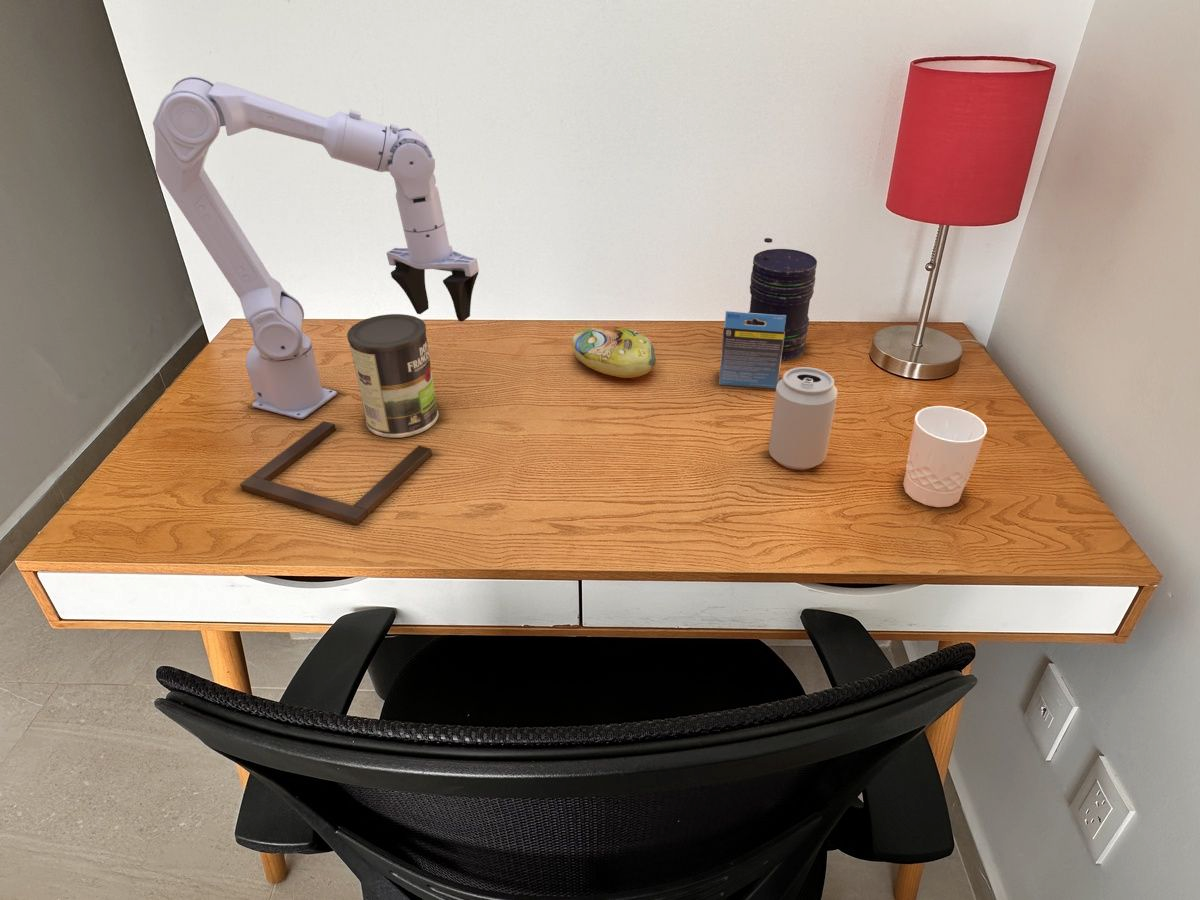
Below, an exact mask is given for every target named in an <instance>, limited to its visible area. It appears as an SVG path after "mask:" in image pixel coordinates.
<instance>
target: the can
mask: <svg viewBox="0 0 1200 900" xmlns="http://www.w3.org/2000/svg"><path fill="white" fill-rule="evenodd" d="M774 394H775V395H774V401H773V410H772V417H771V424H770V433H769V441H768V453H769V455H770V456H771V458H773V459H774V460H775V461H776V462H777V463H778V464H779V465H781V466H783V467H785V468H787V469H791V470H798V471H801V470H802V471H803V470H809V469H812V468H815V467H816V466H820V465H821V464H823V462H825V460H826V458H827V455H828V449H829V444H830V439H831V433H832V428H833V421H834V417H835V411H836V405H837V401H838V389H837V388H836V386H835V379H834V377H833V376H832V375H831V374H829V373H828V372H826V371H824V370H822V369H820V368H815V367H809V366H800V367H794V368H790V369H788V370H787V371H785V372H784V373H783V375H782V379H780V380H778V384H777V386H776V389H775V393H774Z"/></svg>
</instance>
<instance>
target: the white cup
mask: <svg viewBox="0 0 1200 900" xmlns="http://www.w3.org/2000/svg"><path fill="white" fill-rule="evenodd" d="M987 433H988V429H987V425H986V423H985V422H984V421H983V420H982V419H981V418H980V417H978V416H977V415H976V414H974V413H972V412H970V411H967V410H965V409H962V408H958V407H955V406H954V407H953V406H948V405H947V406H946V405H935V406H927V407H924V408H922V409H919V410H918V411H917V412H916V413H915V415H914V420H913V425H912V431H911V436H910V441H909V447H908V452H907V459H906V467H905V468H906V469H905V474H904V479H903V483H902V484H903V488H904V492H905V493H906V495H908V496H909V497H910V499H912V500H913V501H915V502H918V503H919V504H920V503H921V504H922V505H924V506H928V507H934V508H947V507H948V508H949V507H951V506H954V505H955V504H957V503H959V502H960V499H961V497H962V494H963V492H964V489H965V488H966V485H967V483H968V482H969V479H970V476H971V475H972V472H973V469H974V467H975V466H976V462H977V460H978V457H979V454H980V452H981V448H982V446H983V443H984V441H985V437H986V435H987Z"/></svg>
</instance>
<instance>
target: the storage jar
mask: <svg viewBox="0 0 1200 900" xmlns="http://www.w3.org/2000/svg"><path fill="white" fill-rule="evenodd" d="M763 242H764V243H767V244H770V243H772V242H773V239H772V238H770V237H766V238H764V239H763ZM817 265H818V260H817V259H816V257H815V256H813V255H812V254H810V253H807V252H806V251H801V250H798V249H797V250H796V249H790V248H771V249H765V250H761V251H759V252H757V253H755V255H754V256H753V260H752V269H751V273H750V285H749V294H750V305H749V311H747V313H758V314H770V315H786V322H785V329H784V331H785V336H784V343H783V350H782V357H781V362H784V361H789V360H794V359H797V358H799V357H800V356H802V355H803V354H804V352H805V343H806V341H807V340H806V339H807V337H808V332H809V326H810V318H809V310H810V302H811V299H812V298H813V294H814V292H815V291H814V287H815V284H816V272H817V271H816V269H817ZM745 324H747V325H760V326H764V325H765V323H764V322H760V321H757V320H756V319H753V320H752V321H748V320H746V323H745Z"/></svg>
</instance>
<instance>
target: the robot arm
mask: <svg viewBox="0 0 1200 900" xmlns="http://www.w3.org/2000/svg"><path fill="white" fill-rule="evenodd" d="M361 116H362V115H361V112H360V111H358V110H355V109H349V112H348V113H346V112H345V111H338V112H336V113H333V114H332V115H330V116H328V117H325V116H323V115H319V114H316V113H313V112H311V111H308V110H304V109H303V108H299V107H296V106H294V105H291V104H288V103H285V102H283V101H280V100H276V99H273V98H271V97H268V96H265V95H263V94H260V93H256V92H255V91H252V90H248V89H245V88H242V87H239V86H236V85H233V84H230V83H226V82H219V81H215V82H214V83H213V82H212V81H210V80H209V79H206V78H203V77H201V76H185V77H183V78H182V79H179V80H178V81H177V82H176V83H175V84H174V85H173V87H172V89H171V90H170V92H169V93H167V94H166V95H165V96H164V98H162V99H161V101H160V104H159V107H158V109H157V111H156V114H155V116H154V118H153V121H152V127H153V131H154V157H155V160H154V161H155V172H156V174H157V176H158V178H159V180H160V181H161V183H162V185H163V186H164V188H165V189H166V191H167V192H168V193H169V195H170V196H171V198H172V200H173V201H174V202H175V204H176V206H177V207H178V208H179V210H180V212H181V213H182V215H183V216H184V217H185V219H186V220H187V222H188V224H189V225H190V226H191V228H192V229H193V231H194V232H195V234H196V236H197V237H198V238H199V240H200V241H201V243H202V244H203V246H204V247H205V249H206V251H207V252H208V254H209V255H210V256H211V258H212V259H213V261H214V263H215V264H216V266H217V267H218V269H219V270H220V271H221V273H222V275H223V276H224V277H225V279H226V280H227V282H228V283H229V285H230V287H231V288H232V290H233V291H234V293H235V294H236V296H237V297H238V299H239V302H240V306H241V309H242V312H243V315H244V318H245V320H246V322H247V323H248V325H249V327H250V328H251V332H252V341H253V345H252V346H251V347H250V348H249V350H248V352H247V354H246V359H245V369H246V372H247V376H248V379H249V382H250V385H251V389H252V392H253V396H254V399H255V401H254V402H252V407H253V408H255V409H260V410H263V411H267V412H271V413H274V414H279V415H283V416H287V417H290V418H295V419H298V420H303V419H305V418H307V417H308V416H309V415H312V413H314V412H315V411H316V410H318V409H320V408H321V407H322V406H324V405H325V404H326V403H327V402H329V401H330V400H331V399H333V398H335V397H336V396H337V395H338V392H337V390H333V389H329V388H324V387H323V384H322V381H321V377H320V373H319V369H318V365H317V360H316V356H315V353H314V349H313V348H314V347H313V345H312V344H313V343H312V340H311V338H310V337H309V336H308V335H306V333H305V332H304V331H303V322H304V320H305V319H304V318H305V312H304V308H303V305H302V304H301V303H300V301H299V300H298V299H296V297H294V296H293V295H291V294H290V293H288V292H287V291H286V290H285V289H284V288H283V286H282V284H281V283H280V281H278V280H277V279H275V278H274V277H272V276H271V274H270V273H269V271H268V270H267V268H266V266H265V265H264V263H263V262H262V259H260V256H259V255H258V253H257V252H256V251H255V249H254V247H253V245H252V244H251V242H250V241H249V239H248V237H247V236H246V235H245V232H244V231H243V230H242V227H241V226H240V225H239V223H238V222H237V220H236V218H235V216H234V215H233V213H232V212H231V210H230V209H229V207H228V205H227V204H226V202H225V200H224V199H223V197H222V196H221V194H220V193H219V191H218V189H217V188H216V186H215V185H214V183H213V182H212V180H211V178H210V177H209V175H208V173H207V172H206V171H205V168H204V167H205V162H206V159H207V156H208V153H209V150H210V147H211V146H212V145H213V143H214V142H215V140H216V139H217V138H218V136H219V134H220V131H221V127H225V132H226V135H227V137H229V136H230V137H231V136H234V135H236V134H240V133H242V132H246V131H247V130H251V129H258V130H263V131H268V132H269V133H270V132H271V133H274V134H279V135H282V136H287V137H290V138H295V139H299V140H302V141H306V142H310V143H315V144H318V145H321V146H322V147H323V148H324V149H325V151H326V152H327V154H328V155H329V157H330V158H331V159H334V160H338V161H341V162H344V163H348V164H350V165H355V166H358V167H362V168H365V169H367V170H368V169H369V170H372V171H375V172H378V173H384V172H385V173H386V172H387V173H389V174H390V176H391V177H392V178H393V181H394V185H395V189H396V192H395V200H396V204H397V208H398V212H399V217H400V220H401V226H402V229H403V230H402V231H403V235H404V239H405V242H406V243H405V244H406V247H402V248H401V247H393V248H392V249H389V250H388V251H386V257H387V261H388V265H389V266H392V267H394V266H395V267H394V268H395V269H393V270H392V271H391V272H390V276H391V279H392V280H394V281H395V282H396V283H397V284H398V285H399V287H400V288H401V289H402V290H403V292H404V293H405V295H406V296H407V298H408V300H409V302H410V303H411V305H412V307H413V309H414V311H415V312H416V315H422V314H423V313H425V312H426V311H428V310H429V308H430V307H429V299H428V293H427V288H426V270H435V271H444V272H449V273H451V274H449V275H448V276H447V277H445V278H444V279H443V280H442V283H443V285H444V286H445V288H446V290H447V292H448V293H449V295H450V298H451V300H452V301H451V302H452V304H453V308H454V312H455V316H456V319H457V321H458V322H465V321H466V320H467V319H469V318H470V317H471V306H472V305H471V304H472V296H473V291H474V287H475V284H476V281H477V278H478V276H479V272H480V269H479V265H478V264H479V263H478V258H476V257H471V256H468V255H465V254H462V253H460V252H457V251H455V250H453V246H452V245H450V242H449V236H448V231H447V227H446V221H445V216H444V211H443V207H442V201H441V197H440V192H439V191H440V190H439V188H438V187H437V186H436V184H437V183H436V182H437V181H436V180H437V179H436V176H435V174H434V173H435V169H436V160H435V158H434V157H433V154H432V152H431V149H430V146H429V144H428V143H427V141H426V140H425V138H424V137H423V136H422V135H421V134H420V133H418V132H416V131H414V130H412V129H411V128H410V127H399V125H397V124H394V123H390V125H389V126H388V125H384V124H381V123H378V122H375V121H372V120H368V119H365V118H362V117H361Z"/></svg>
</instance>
